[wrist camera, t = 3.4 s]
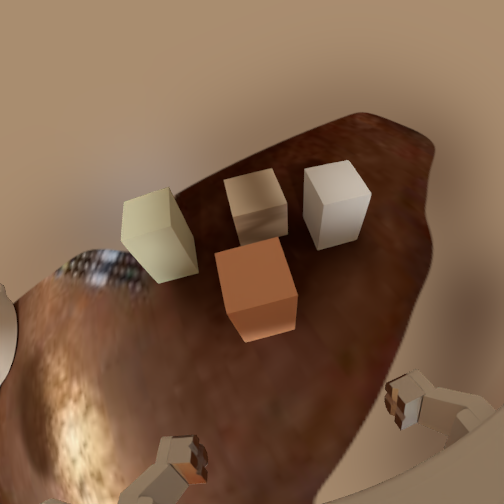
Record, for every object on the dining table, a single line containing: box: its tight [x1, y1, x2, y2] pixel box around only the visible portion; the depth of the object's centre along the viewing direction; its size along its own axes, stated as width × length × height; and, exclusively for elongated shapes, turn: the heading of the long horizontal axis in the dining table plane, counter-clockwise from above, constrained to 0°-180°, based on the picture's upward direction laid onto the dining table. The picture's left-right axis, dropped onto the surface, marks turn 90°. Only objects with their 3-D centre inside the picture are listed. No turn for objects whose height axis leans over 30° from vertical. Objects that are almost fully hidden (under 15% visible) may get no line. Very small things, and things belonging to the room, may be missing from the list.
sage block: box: [121, 187, 199, 283], centre depth 25 cm, size 4×4×8 cm
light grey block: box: [303, 160, 371, 251], centre depth 26 cm, size 4×4×7 cm
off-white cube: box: [224, 168, 288, 246], centre depth 28 cm, size 5×5×5 cm
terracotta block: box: [215, 237, 298, 342], centre depth 21 cm, size 4×4×8 cm
